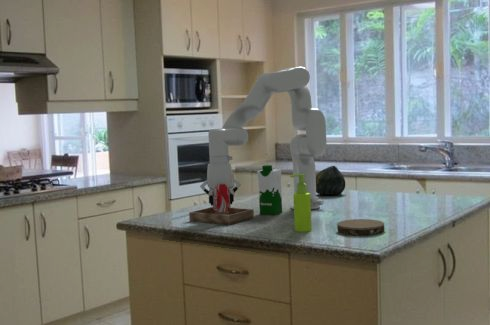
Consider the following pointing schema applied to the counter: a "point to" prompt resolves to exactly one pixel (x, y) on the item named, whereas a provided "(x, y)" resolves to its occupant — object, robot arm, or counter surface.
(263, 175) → the milk carton
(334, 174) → the squash
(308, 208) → the soap dispenser
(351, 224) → the brown round disc
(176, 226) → the counter surface
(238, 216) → the walnut tray
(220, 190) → the soda can
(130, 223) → the counter surface
